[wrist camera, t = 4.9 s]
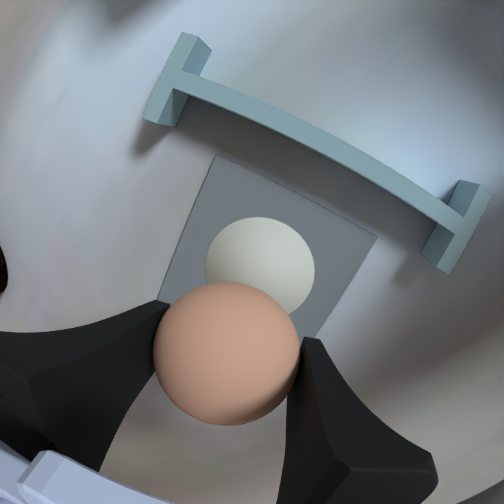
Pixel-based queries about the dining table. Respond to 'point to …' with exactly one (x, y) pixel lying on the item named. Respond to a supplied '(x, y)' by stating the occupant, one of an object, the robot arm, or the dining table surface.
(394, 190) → the divider wall
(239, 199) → the resting mat
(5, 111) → the dining table surface
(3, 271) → the brown wooden tall figure
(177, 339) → the ball
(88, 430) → the robot arm
